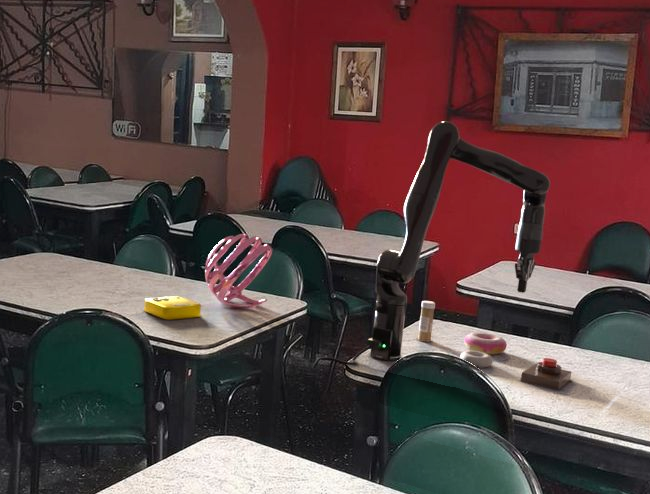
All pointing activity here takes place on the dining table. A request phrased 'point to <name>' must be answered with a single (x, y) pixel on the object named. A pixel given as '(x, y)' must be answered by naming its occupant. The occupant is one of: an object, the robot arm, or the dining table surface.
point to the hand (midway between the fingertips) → (521, 291)
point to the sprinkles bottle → (426, 321)
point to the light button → (549, 362)
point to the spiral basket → (227, 282)
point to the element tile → (172, 307)
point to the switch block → (546, 376)
